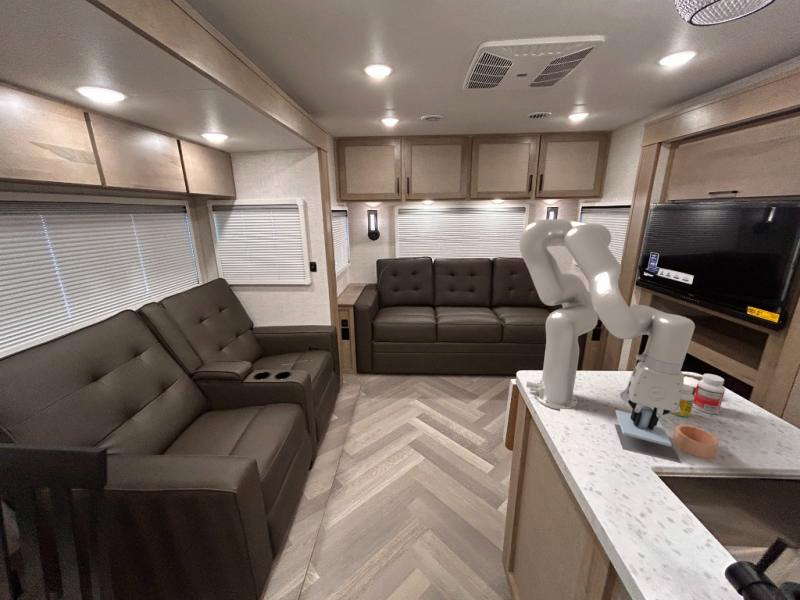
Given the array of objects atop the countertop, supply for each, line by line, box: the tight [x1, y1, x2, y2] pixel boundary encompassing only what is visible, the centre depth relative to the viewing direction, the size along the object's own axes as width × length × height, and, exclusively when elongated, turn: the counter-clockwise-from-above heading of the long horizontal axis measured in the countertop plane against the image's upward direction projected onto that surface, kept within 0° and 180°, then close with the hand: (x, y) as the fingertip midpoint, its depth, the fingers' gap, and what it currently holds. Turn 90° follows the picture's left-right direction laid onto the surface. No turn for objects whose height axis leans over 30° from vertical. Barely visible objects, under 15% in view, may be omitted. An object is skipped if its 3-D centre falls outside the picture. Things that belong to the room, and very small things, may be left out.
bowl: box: [672, 423, 720, 459], centre depth 81 cm, size 8×8×4 cm
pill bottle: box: [692, 373, 726, 415], centre depth 97 cm, size 6×6×11 cm
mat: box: [614, 423, 682, 464], centre depth 83 cm, size 12×11×1 cm
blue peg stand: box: [615, 405, 673, 447], centre depth 82 cm, size 10×10×6 cm
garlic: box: [683, 376, 699, 387], centre depth 110 cm, size 8×7×4 cm
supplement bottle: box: [669, 384, 694, 418], centre depth 94 cm, size 5×5×10 cm
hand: (642, 424), depth 83 cm, fingers closed on blue peg stand, 2 cm apart
